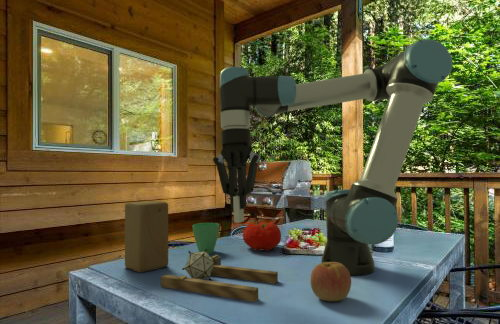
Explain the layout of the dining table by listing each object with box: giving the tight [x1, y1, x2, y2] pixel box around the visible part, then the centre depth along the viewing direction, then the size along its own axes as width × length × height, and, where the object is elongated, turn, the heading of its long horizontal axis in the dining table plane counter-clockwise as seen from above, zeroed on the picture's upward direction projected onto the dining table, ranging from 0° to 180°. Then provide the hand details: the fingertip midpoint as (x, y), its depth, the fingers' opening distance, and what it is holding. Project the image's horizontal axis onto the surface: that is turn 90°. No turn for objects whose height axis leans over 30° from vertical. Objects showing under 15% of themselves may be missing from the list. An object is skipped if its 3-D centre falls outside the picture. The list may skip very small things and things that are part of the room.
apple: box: [310, 262, 352, 302], centre depth 73 cm, size 9×9×8 cm
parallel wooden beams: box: [160, 254, 279, 303], centre depth 85 cm, size 26×18×4 cm
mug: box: [192, 222, 220, 255], centre depth 121 cm, size 15×10×10 cm
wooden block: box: [124, 200, 169, 274], centre depth 101 cm, size 10×10×20 cm
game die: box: [181, 249, 217, 281], centre depth 87 cm, size 9×8×10 cm
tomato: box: [242, 221, 282, 252], centre depth 124 cm, size 14×16×10 cm
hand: (239, 221), depth 83 cm, fingers closed
